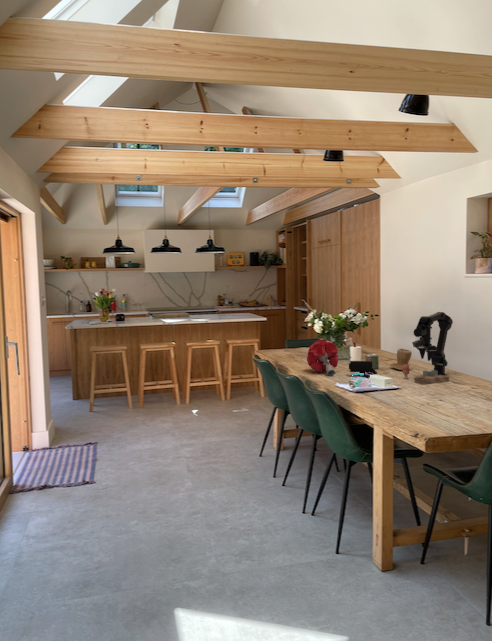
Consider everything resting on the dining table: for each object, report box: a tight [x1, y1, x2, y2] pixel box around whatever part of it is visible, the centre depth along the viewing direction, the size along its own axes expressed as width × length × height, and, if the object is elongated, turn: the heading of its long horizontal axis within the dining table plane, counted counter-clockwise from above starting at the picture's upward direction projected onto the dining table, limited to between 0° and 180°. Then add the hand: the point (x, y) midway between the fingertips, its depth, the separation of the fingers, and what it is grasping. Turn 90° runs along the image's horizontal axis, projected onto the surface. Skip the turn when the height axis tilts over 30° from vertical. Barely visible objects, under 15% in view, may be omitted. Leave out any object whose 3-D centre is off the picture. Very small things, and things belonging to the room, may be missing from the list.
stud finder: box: [422, 369, 438, 377], centre depth 331 cm, size 8×4×5 cm, turn 110°
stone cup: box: [389, 348, 412, 371], centre depth 363 cm, size 15×12×15 cm
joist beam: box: [413, 375, 450, 385], centre depth 320 cm, size 21×7×3 cm, turn 111°
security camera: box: [348, 360, 378, 375], centre depth 342 cm, size 7×18×10 cm, turn 78°
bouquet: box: [306, 339, 339, 377], centre depth 357 cm, size 22×24×30 cm
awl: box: [402, 364, 410, 380], centre depth 331 cm, size 4×4×9 cm
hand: (425, 359), depth 330 cm, fingers open, 9 cm apart
